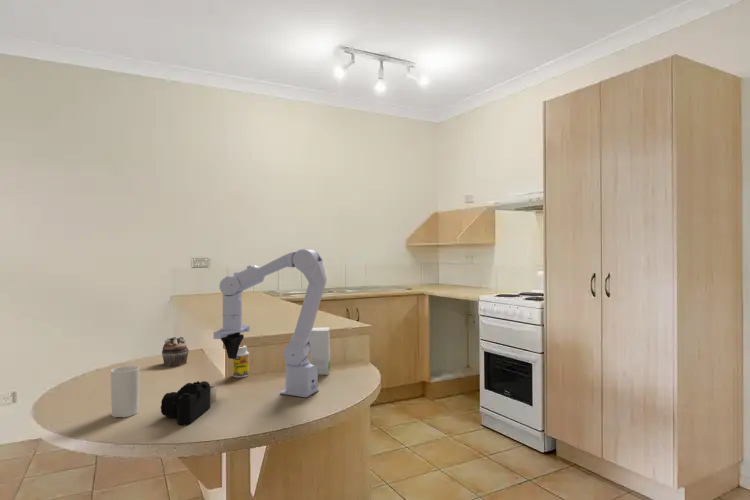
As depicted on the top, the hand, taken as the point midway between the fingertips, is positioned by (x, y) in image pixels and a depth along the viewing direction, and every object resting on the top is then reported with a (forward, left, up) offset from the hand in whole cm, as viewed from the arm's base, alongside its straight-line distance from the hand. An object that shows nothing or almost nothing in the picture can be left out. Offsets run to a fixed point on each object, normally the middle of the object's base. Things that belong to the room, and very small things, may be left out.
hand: (232, 358), depth 148 cm
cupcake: (+42, -18, -10) cm, 47 cm away
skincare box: (-15, -29, -10) cm, 34 cm away
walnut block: (-2, +13, -8) cm, 15 cm away
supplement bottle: (+8, -14, -10) cm, 19 cm away
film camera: (-4, +23, -10) cm, 26 cm away
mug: (+13, +27, -10) cm, 32 cm away
